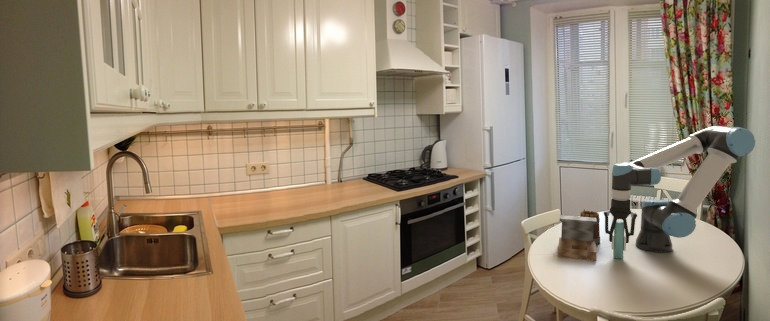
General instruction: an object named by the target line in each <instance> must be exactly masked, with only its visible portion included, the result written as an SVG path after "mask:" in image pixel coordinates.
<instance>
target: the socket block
mask: <svg viewBox="0 0 770 321" xmlns="http://www.w3.org/2000/svg"><path fill="white" fill-rule="evenodd" d="M559 222H561V236H560V237H558V245H557V246H558V247H557V258H565V259H566V258H567V259H575V260H585V261H593V262H596V261H597V255H598V254H597V253H598V252H597V245H596V244H595V240H593V229H594V224H597V220H596V218H591V217H580V216H576V215H563V214H560V215H559Z"/></svg>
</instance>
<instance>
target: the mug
mask: <svg viewBox="0 0 770 321" xmlns="http://www.w3.org/2000/svg"><path fill="white" fill-rule="evenodd" d="M579 217H591V218H596V220H597V224H594V229H593V240H595V244H596V246H597V245H599V244H600V243H601V236H600V235H601V234H600V220H601V219H600V214H599V212H597V211H592V210H591V211H590V210H589V209H583V211H581V212H580V215H579Z"/></svg>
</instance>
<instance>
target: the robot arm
mask: <svg viewBox="0 0 770 321" xmlns="http://www.w3.org/2000/svg"><path fill="white" fill-rule="evenodd" d="M755 146H756V140H755V135H754V134H753V132H752V131H751V130H749V129H747V128H744V127H740V126H728V125H719V124H718V125H713V126H708V127H706V128H703V129H700V130H698V131H696V132H694V133H692V134H689V135H687V138H685V139H682V140H681V141H678V142H675V143H673V144H671V145H668V146H666V147H663V148H661V149H659V150H656V151H654V152H653V153H652V152H651V153H649V154H647V155H645V156H643V157H640V158H637V159H636V160H633V161H631V162H630V161H628V162H627V161H625V162H621V163H615V164H614V165H613V166H612V172H611V177H612V178H611V195H610V196H611V199H610V201H611V202H610V208H609V210H604V211H603V215H604V231H605V234H608V235H609V237H608V241H609V242H610V243H611V250H614V228H615V225H616V221H618V220H621V221H622V222H624V227H625V228H624V249H623V252H626V251H627V248H626V247H627V244H629V241H630V237H631V236H633V237H634V235H635V225H636V219H637V217H638V214H637V212H632V210H631V200H630V199H631V196H632V195H631V193H632V186H653V185H658V184H659V183H660V182H661V181H662V180H661V179H662V175H661V173H662V172H661V170H660V169H661V168H663V167H665V166H668V165H671V164H673V163H675V162H678V161H680V160H682V159H685V158H687V157H690V156H692V155H695V154H697V155H700V154H703V153H705V152H707V153H708V154H707V156H706V157H705V158H704V159H703V161H702V162H701V164H700V165H699V167H698V168H697V170H696V171H695V173H694V174H693V175H692V177H691V178H690V179H689V181H688V182H687V184H686V185H685V186H684V188H683V189H682V190H681V191H680V193H679V195H678V196H677V197H676V199H672V200H666V199H645V200H643V201H642V203H641V214H640V215H641V217H640V229H639V230H640V231H639V233H638V234H637V237H636V239H635V246H636V247H637V248H638V249H641V250H645V251H649V252H654V253H668V252H671V251H673V243H672V238H671V237H673V238H681V239H682V238H686V237H688V236H690V235H692V233H693V232H694V231H695V230H696V226H697V221H696V218H697V217H698V212H697V210H698V208H699V207H700V206H701V204H702V203H703V202H704V200H705V198H706V197H707V196H708V195H709V193H710V192H711V191H712V189H713V188H714V186H715V185H716V183H717V182H718V180H720V178H721V177H722V175H723V174H724V172H725V171H726V170H727V168H728V167H729V166H730V164H735V163H737V162H738V160H739V159H740V157H743V156H747V155H749V154H751V153H752V151H754V149H755ZM610 215H611V216H612V221H611V226H610V228H609V216H610ZM629 216H630V217H631V220H630V229H629V226H628V221H627V218H628V217H629ZM629 230H630V231H629Z"/></svg>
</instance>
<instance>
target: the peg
mask: <svg viewBox="0 0 770 321" xmlns="http://www.w3.org/2000/svg"><path fill="white" fill-rule="evenodd" d="M613 234H614V250H613V251H612V252H613V253H612V254H613V256H612V257H613V258H615V259H623V258H624V250H623V249H624V235H625V227H624V222H623V221H622V220H621V221H619V220H617V221H616V225H615V228H614V232H613Z"/></svg>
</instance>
